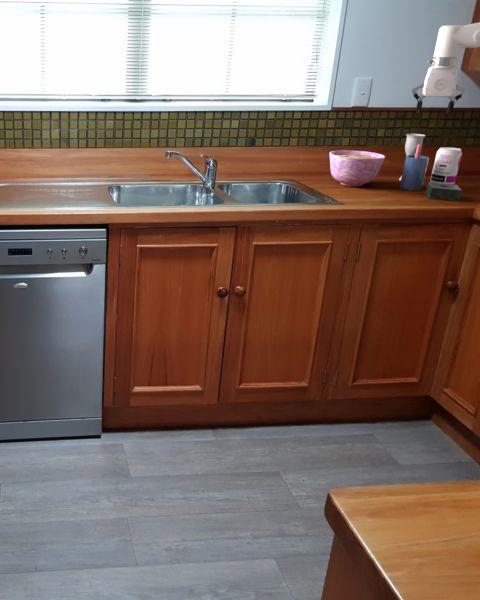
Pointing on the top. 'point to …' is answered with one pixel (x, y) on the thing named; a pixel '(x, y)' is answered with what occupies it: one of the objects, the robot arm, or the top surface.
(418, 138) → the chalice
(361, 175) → the bowl of food
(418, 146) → the straw
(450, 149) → the supplement can
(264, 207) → the top surface
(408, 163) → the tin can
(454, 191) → the straw stand
